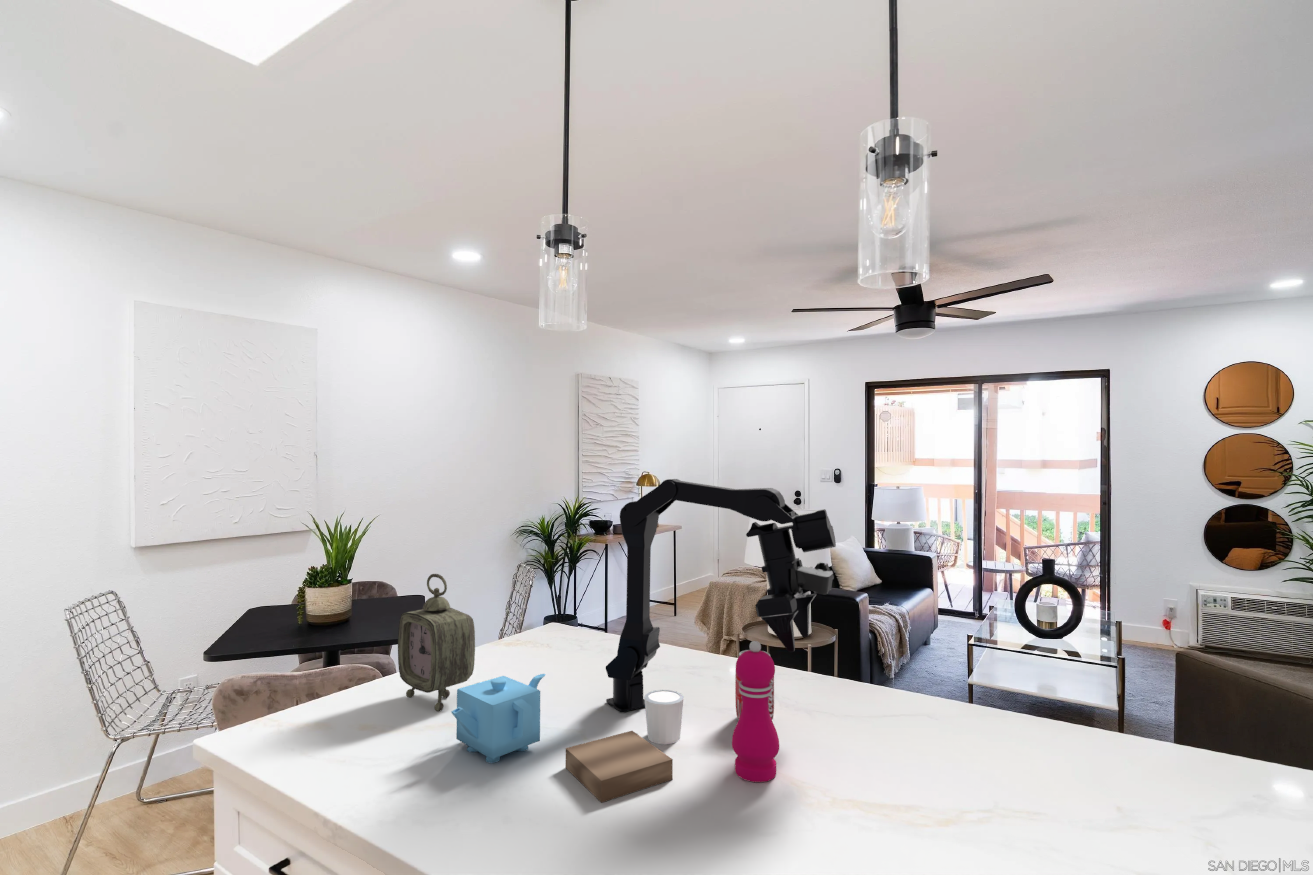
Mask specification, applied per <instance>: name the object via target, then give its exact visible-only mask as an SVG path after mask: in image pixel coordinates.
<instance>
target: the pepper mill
mask: <svg viewBox="0 0 1313 875" xmlns="http://www.w3.org/2000/svg"><path fill="white" fill-rule="evenodd" d="M748 646H749V649H748V650H749V651H746V652H744V653H742V654H741V655H740V656H739V655H738V657H737V660H736V661H735V674H736V673H737V676H738V677H739V678H740V680H741V681H740V682H739V686H740V688H739V692H740V693H741V694H742V711H741V716H740V718H738V721H737V722H736V726H735V727H734V728H733V731H732V732H733V733H732V737H731V748H732V750H733V752H734V753H735V754H736V757H735V758H734V759H735V760H734V772H735V774H736V775H737V776H738V777H739V778H741V779H742V780H745V781H748V782H753V783H765V782H770V781H772V780H773V779H774V778H775V777H776V776H777V762H776V759H775V757H777V755H778V753H779V751H780V738H779V734H778V732H777V729H776V727H775V724H774V722H773V719H771V717H770V713H769V706H768V700H769V696H770V695H771V694H772V691H771V688H772V685H771V683H770V681H771V680H772V678H773V677H774V678H775V673H776V666H775V662H774V660H773V658H772V657H771V655H770V656H769V655H768V654H767V653H768V652H767V653H765V652H766V651H765V652H763V651H764V650H762V645H761V643H760V642H759V641H758V640H753V641H751V642H750V643H749V645H748Z"/></svg>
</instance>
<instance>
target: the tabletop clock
mask: <svg viewBox="0 0 1313 875" xmlns="http://www.w3.org/2000/svg"><path fill="white" fill-rule="evenodd" d="M432 578H438V579H439V580H440V581H442V583H443V586H444V588H443V591H441V592H440V588H439V587H435V588H434V589H432V587H431V586H430V581H431V580H432ZM426 587H427V590H428V591H429V593H430V594H431V595H433V596H431V597H429V598H428V599H427V600H425V602H424V603H423V606H422V607H421V608H422V609H417V610H411V611H407V612H403V613H401V614H400V618H399V621H398V623H399V624H398V630H397V631H398V633H397V634H398V637H397V665H398V671H399V678H400V679H401V680H402V681H403V682H404V683H405V684H407V685H408V686H410V687H411V688H409V689H407V690H406V693H405V696H406V697H407V698H413V697H414V695H415V690H417V691H420V692H423V693H432V692H436V691H437V693H438V696H437V702H436V703H435V704H434V710H435V711H436V712H441V711H443V709H444V703H442V700H443V699H442V698H444V699H448V698H449V696H450V695H451V692H450V690H449V689H447V688H449V687H452V686H455V685H459V684H462V683H465V682H467V681H468V680H469V679H470V677H471V676H472V675H473V674H474V673H473V672H474V671H475V670H474V669H475V660H476V658H475V656H476V631H475V630H476V628H475V623H474V618H472V616H471V615H469V614H468V613H466V612H465V613H464V612H463V611H460V610H458V609H455V608H453V607H451V605H450V602H449V601H448V600H447V599H446V597H443V596H444V595H445V594H446V593H447V589H448V585H447V581H446V578H444V577H443V576H442V575H441V574H439V573H432V574H430V575H429V576H428V578H427V580H426Z"/></svg>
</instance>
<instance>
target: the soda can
mask: <svg viewBox="0 0 1313 875" xmlns="http://www.w3.org/2000/svg"><path fill="white" fill-rule="evenodd" d="M749 650H750V649H745V650H742V651H740V652H739V653H738V657H739V656H740V655H741V654H742V653H744V652H746V651H749ZM762 651H763V652H765V653H767V654H768V655H769V656H770V657H771V654H770V653H769V652H767V651H764V650H762ZM734 677H735V679H734V680H735V682H734V683H735V684H734V685H735V693H734V694H735V695H734V696H735V713H736V714H735V715H736V718H737V719H739V718H740V716H741V711H742V694H741V693H740V692H739V688H740V686H739V682H740V681H741V680H740V678H739V677H738V676H737V673H736V672H735V676H734ZM770 683H771V685H772V688H771V691H772V694H771V695H770V696H769V700H768V706H769V713H770V717H771V719H772V720H774V713H775V676H774V677H773V678H772V680H771V681H770Z"/></svg>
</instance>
